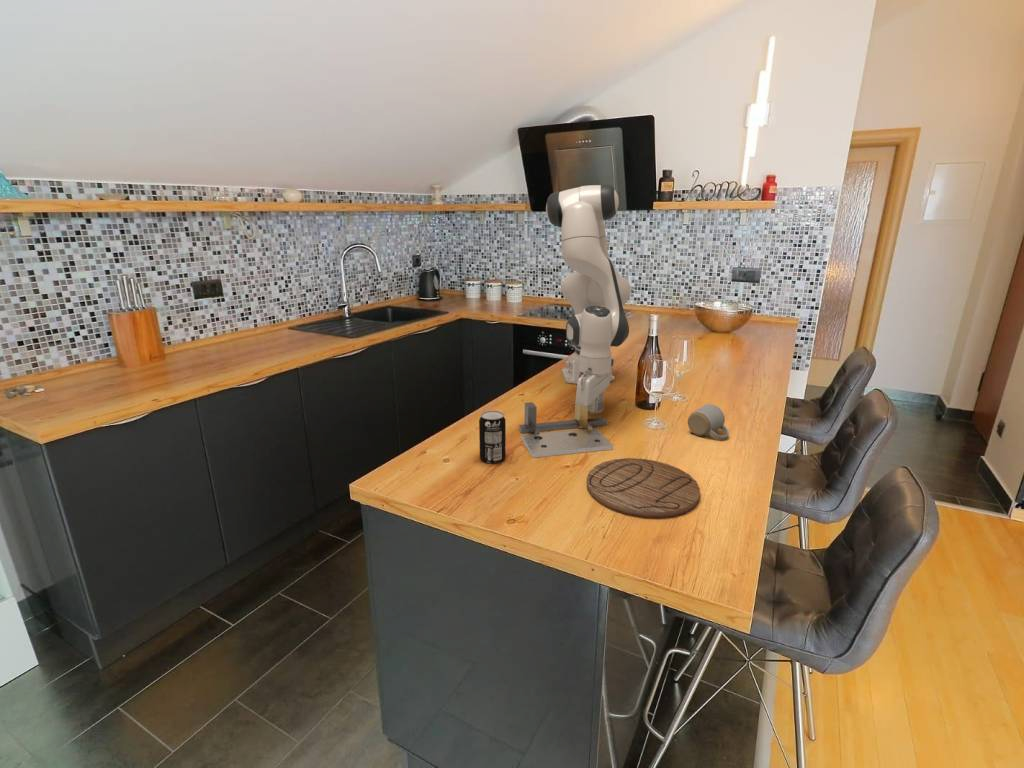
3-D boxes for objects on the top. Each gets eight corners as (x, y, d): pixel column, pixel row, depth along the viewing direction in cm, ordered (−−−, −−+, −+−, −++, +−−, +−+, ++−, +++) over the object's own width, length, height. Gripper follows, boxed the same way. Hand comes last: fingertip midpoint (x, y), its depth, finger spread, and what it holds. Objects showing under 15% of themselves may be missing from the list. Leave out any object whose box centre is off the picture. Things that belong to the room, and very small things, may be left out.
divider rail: (518, 429, 155) (518, 403, 153) (602, 421, 161) (604, 396, 159) (527, 443, 146) (527, 415, 144) (616, 434, 152) (618, 408, 149)
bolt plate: (521, 439, 149) (521, 434, 148) (595, 431, 153) (595, 427, 153) (532, 457, 138) (532, 453, 137) (612, 449, 142) (613, 445, 142)
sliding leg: (574, 422, 159) (575, 398, 157) (581, 421, 160) (582, 397, 157) (586, 436, 150) (587, 410, 147) (594, 435, 150) (596, 410, 148)
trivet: (717, 488, 124) (718, 480, 123) (666, 535, 106) (667, 526, 105) (622, 456, 139) (622, 449, 139) (564, 492, 122) (564, 484, 121)
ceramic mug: (684, 432, 153) (687, 407, 151) (698, 425, 158) (702, 400, 156) (719, 444, 146) (723, 418, 143) (733, 436, 151) (737, 411, 149)
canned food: (583, 403, 175) (585, 368, 172) (606, 408, 172) (608, 372, 168) (573, 411, 169) (575, 374, 165) (597, 416, 165) (599, 378, 161)
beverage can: (491, 450, 142) (491, 407, 138) (510, 457, 138) (510, 413, 134) (474, 459, 137) (473, 415, 133) (493, 466, 133) (493, 421, 129)
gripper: (593, 375, 142) (591, 424, 146) (616, 357, 159) (613, 401, 164) (571, 372, 145) (569, 420, 149) (595, 355, 162) (593, 398, 166)
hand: (592, 410), depth 157 cm, fingers closed
